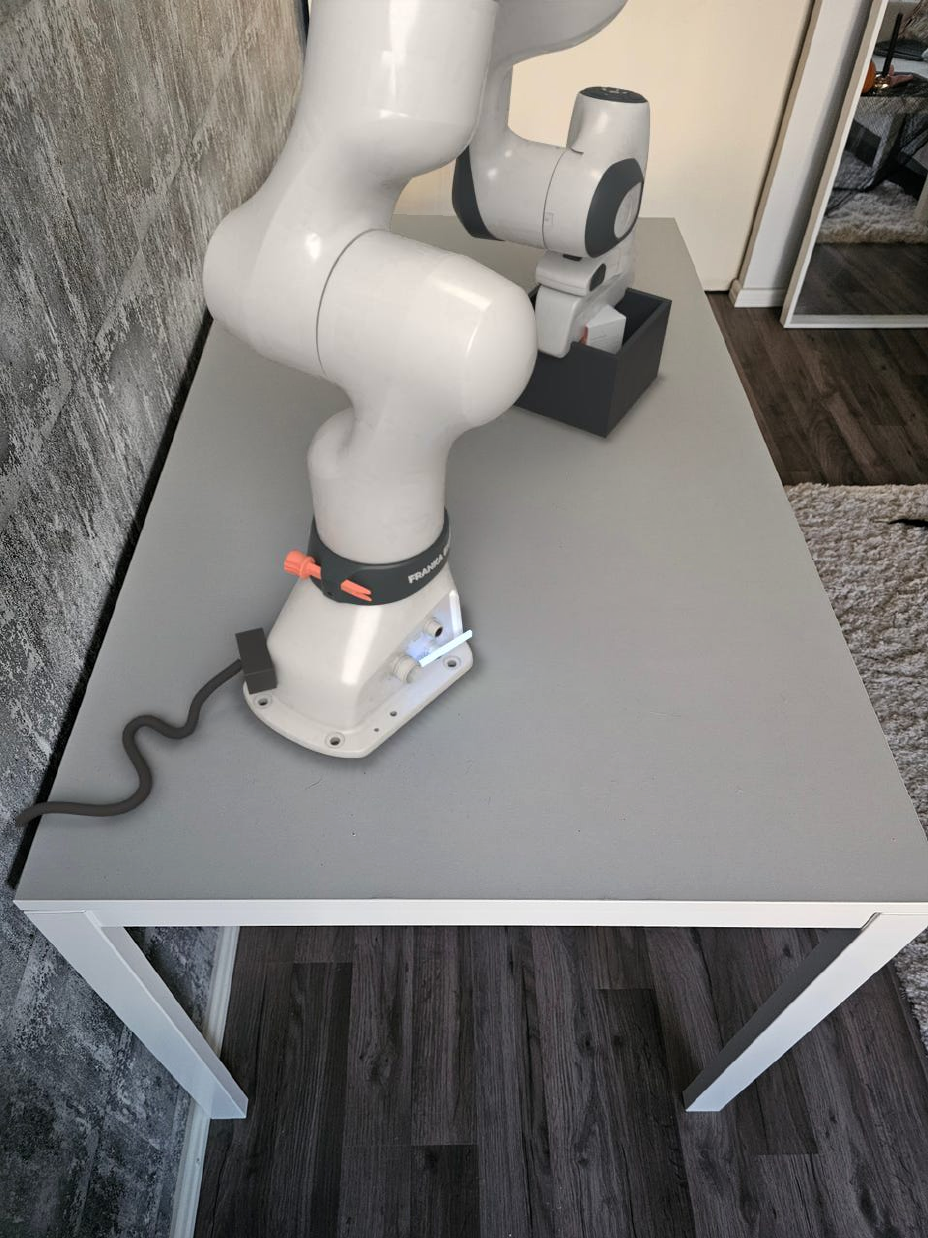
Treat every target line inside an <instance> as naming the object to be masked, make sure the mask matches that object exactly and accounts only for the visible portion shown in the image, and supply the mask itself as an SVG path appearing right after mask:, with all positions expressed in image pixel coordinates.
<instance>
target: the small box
mask: <svg viewBox="0 0 928 1238" xmlns="http://www.w3.org/2000/svg"><path fill="white" fill-rule="evenodd" d="M625 322H626V317H625V316H624V315H622V314H620V313H619V312H618V311H616V310H615V309H614V308H613V307H611V306H610V305H609V304H608V305H606V306H605V307H604V308H603V309H602V310H601V311H600V312H599V313H598V314H597V315H596V316H595V317H594V318H593V319H592V320H591V321H590V322H589V323H588V324H587V325H586V327H585V334H584V337H583V338H582V339H581V340H580V341H579V343H582V344H585V345H588V346H591V347H594V348H597V349H600V350H603V351H606V352H609V353H612V354H616V353H617V352H618V351H619V350H620V348H621V346H622V339H623V334H624V328H625Z"/></svg>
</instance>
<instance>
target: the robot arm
mask: <svg viewBox="0 0 928 1238" xmlns="http://www.w3.org/2000/svg"><path fill="white" fill-rule="evenodd" d="M628 1H629V0H311V2H310V10H309V11H310V13H309V23H308V32H307V40H306V48H305V55H304V64H303V72H302V79H301V84H300V91H299V97H298V102H297V107H296V111H295V115H294V118H293V122H292V124H291V128H290V130H289V134H288V136H287V139H286V142H285V144H284V146H283V148H282V151H281V153H280V155H279V156H278V159H277V161H276V163H275V165H274V166H273V168H272V170H271V172H270V173H269V175H268V177H267V178H266V180H264V182H263V184H262V185H261V186H260V188H258V190H256V192H255V193H254V194H253V195H252V196H251V197H250V198H248V200H246V201H245V202H243V203H242V204H240V205H239V206H237V207H235V208H233V210H231V211H230V212H228V213H227V214H226V215H225V216H224V217H223V219H222V220H221V221H220V222H219V223H218V225H217V226H216V227H215V229H214V231H213V232H212V234H211V237H210V238H209V241H208V242H207V245H206V249H205V252H204V256H203V261H202V267H201V268H202V269H201V279H202V280H201V283H202V290H203V291H202V292H203V296H204V301H205V304H206V307H207V309H208V312H209V313H210V315H211V317H212V319H213V320H214V321H215V323H216V324H217V325H218V326H219V327H220V328H222V329H223V330H224V331H225V332H226V333H228V334H230V335H231V336H232V337H234V338H235V339H237V340H238V341H239V342H241V343H242V344H243V345H245V346H246V347H248V348H250V349H251V350H253V351H254V352H256V353H257V354H258V355H260V356H262V357H263V358H265V359H267V360H269V361H271V362H275V363H277V364H280V365H282V366H284V367H288V368H289V369H292V370H295V371H298V372H300V373H303V374H305V375H308V376H311V377H313V378H316V379H318V380H322V381H323V382H327V383H329V384H332V385H334V387H337V388H339V389H341V390H342V391H344V393H345V394H346V395H347V397H348V398H349V400H350V402H351V406H348V407H346V408H344V409H342V410H340V411H338V412H336V413H334V414H333V415H331V416H330V417H329V418H327V419H326V420H325V421H324V422H323V423H322V424H321V426H319V428H318V429H317V431H316V433H315V434H314V436H313V438H312V440H311V442H310V444H309V448H308V451H307V455H306V466H307V473H308V480H309V487H310V493H311V494H310V495H311V500H312V501H311V502H312V507H313V516H312V520H311V525H310V528H309V532H308V543H307V550H306V554H304V553H303V552H302V551H300V550H297V549H293V550H291V551H290V552H289V553H288V554H287V555H286V557H285V560H284V562H283V565H284V566H283V569H284V571H285V572H286V573H289V574H292V575H295V576H298V579H297V581H296V582H295V584H294V586H293V589H292V590H291V592H290V594H289V596H288V597H287V600H286V601H285V603H284V605H283V607H282V609H281V611H280V613H279V614H278V617H277V619H276V620H275V622H274V624H273V626H272V627H271V630H270V632H269V634H268V636H267V639H266V636H265V633H264V628H263V627H257V628H254V629H249V630H245V631H240V632H236V633H235V634H234V636H235V640H236V645H237V649H238V650H237V651H238V653H239V657H240V659H239V658H237V659H236V660H234V661H233V662H231V664H230V665H228V666H227V667H225V668H224V669H223V670H221V671H220V672H218V673H217V674H216V675H214V676H213V677H212V678H211V679H209V680H208V681H207V682H206V683H205V684H204V685H203V686H202V687H201V688H200V689H199V690H198V691H197V692H196V694H195V695H194V697H193V698H192V701H191V702H190V706H189V709H188V713H187V717H186V721H185V723H184V725H183V726H181V727H178V728H177V727H173V726H171V725H169V724H167V723H166V722H164V721H163V720H161V719H159V718H157V717H155V716H153V715H149V714H143V715H138V716H135V717H134V718H132V719H131V720H130V721H129V722H128V723H126V724H125V726H124V728H123V730H122V732H121V734H122V735H121V742H122V747H123V749H124V751H125V753H126V755H127V757H128V758H129V760H130V763H132V765H133V767H134V769H135V770H136V772H137V775H138V778H139V785H138V788H137V790H136V791H135V792H134V793H133V794H131V795H130V796H129V797H128V798H126V799H124V800H122V801H120V802H116V803H109V804H95V803H94V804H93V803H83V802H75V801H62V800H60V801H59V800H52V801H44V802H39V803H36V804H33V805H31V806H29V807H28V808H26V809H24V810H23V811H22V812H21V813H19V815H18V816H17V818H16V820H15V822H14V823H13V825H14V827H15V828H23V827H25V826H26V825H28V824H30V822H31V821H32V820H33V819H35V818H37V817H39V816H42V815H48V814H64V815H74V816H83V817H93V818H95V817H99V818H100V817H101V818H102V817H103V818H105V817H114V816H119V815H123V814H125V813H128V812H130V811H132V810H135V809H136V808H137V807H138V806H139V805H141V804H142V803H143V802H144V801H145V800H146V798H147V797H148V796H149V794H150V792H151V788H152V786H153V785H152V784H153V782H152V774H151V770H150V768H149V766H148V764H147V761H146V760H145V758H144V757H143V755H142V753H141V752H140V750H139V748H138V747H137V744H136V742H135V738H134V735H135V732H137V731H138V729H140V728H141V727H148V728H150V729H152V730H154V731H155V732H157V733H159V734H161V735H162V736H164V737H165V738H168V739H172V740H182V739H185V738H187V737H190V735H191V734H193V732H194V731H195V730H196V728H197V725H198V723H199V718H200V714H201V710H202V708H203V706H204V704H205V702H206V701H207V699H208V698H209V697H210V696H211V695H212V694H213V693H214V692H215V691H216V690H217V689H218V688H220V687H221V686H222V685H223V684H225V683H226V682H227V681H229V680H230V679H232V678H233V677H235V676H236V675H237V674H238V673H240V672H241V671H242V672H243V676H244V679H245V681H244V683H243V685H242V691H243V696H244V699H245V701H246V703H247V705H248V707H249V708H250V710H251V712H252V713H254V715H255V716H256V717H257V718H258V719H259V720H260V721H261V722H263V724H265V725H266V726H268V727H269V728H270V729H272V730H273V731H275V732H276V733H278V734H280V735H281V736H282V737H284V738H286V739H287V740H289V741H291V742H293V743H295V744H297V745H299V746H301V747H303V748H306V749H308V750H310V751H313V752H316V753H320V754H322V755H326V756H330V757H335V758H343V759H362V758H365V757H367V756H368V755H370V754H371V753H372V752H373V751H375V750H376V749H377V748H378V747H380V746H381V745H382V744H383V743H384V742H386V741H387V740H388V739H389V738H390V737H392V736H393V735H394V734H395V733H396V732H397V731H398V730H400V729H401V728H402V727H403V726H405V724H407V723H408V722H410V720H411V719H413V718H414V717H415V716H416V715H418V714H419V713H420V712H421V711H423V710H424V709H425V708H426V707H427V706H428V705H429V704H430V703H431V702H433V701H434V700H435V699H437V698H438V697H439V696H440V695H441V694H442V693H444V691H445V692H446V690H447V689H448V688H450V686H452V685H453V684H454V683H456V681H458V680H459V679H460V678H461V677H462V676H464V675H465V674H466V673H467V672H469V670H470V669H471V668H472V667H473V665H474V657H473V652H472V649H471V647H470V645H469V643H468V642H467V640H468V639H470V638H472V636H473V631H472V630H471V629H470V630H467V631H466V632H464V629H463V628H464V627H463V619H462V609H461V603H460V597H459V592H458V589H457V586H456V583H455V580H454V577H453V574H452V571H451V568H450V565H449V562H448V559H449V555H450V550H451V539H452V532H451V531H452V530H451V526H450V517H449V512H448V510H447V507H446V505H445V496H446V495H445V492H446V476H447V464H448V457H449V454H450V450H451V448H452V447H453V444H454V443H455V441H457V439H458V438H459V437H460V436H462V435H463V434H464V433H465V432H468V431H470V430H472V429H475V428H479V427H482V426H485V425H487V424H489V423H491V422H493V421H495V420H496V419H497V418H499V417H500V416H502V415H503V414H504V413H506V412H507V411H508V410H509V409H510V408H511V407H512V406H514V405H513V404H514V403H515V402H516V400H517V399H518V398H519V396H520V395H521V394H522V392H523V391H524V389H525V387H526V386H527V384H528V382H529V379H530V377H531V375H532V372H533V369H534V366H535V362H536V358H537V352H538V350H539V351H540V352H542V353H545V354H548V355H551V356H554V357H558V358H562V357H564V356H565V355H566V354H567V353H568V352H569V350H570V344H571V343H572V342H573V341H576V342H579V341H580V340H581V339H582V338H583V337H584V334H585V327H586V325H587V324H588V323H589V322H590V321H591V320H592V319H593V318H594V317H595V316H596V315H597V314H598V313H599V312H600V311H601V310H602V309H603V308H604V307H605V306H606V305H608V304H609V305H610V306H611V307H613V308H614V307H615V305H616V304H617V303H618V302H619V301H620V300H621V299H622V298H623V297H624V295H625V290H626V289H627V288H628V287H629V288H633V285H634V282H635V278H636V271H637V264H638V263H637V261H638V253H639V246H638V245H639V242H638V239H637V232H638V227H639V216H640V210H641V206H642V200H643V195H644V189H645V188H644V187H645V182H646V181H645V180H646V176H647V169H648V161H649V152H650V140H651V139H650V137H651V106H650V102H649V100H648V99H647V98H645V96H644V95H643V94H640V93H639V92H635V91H633V90H628V89H625V88H618V87H612V86H600V85H599V86H598V85H597V86H588V87H586V88H584V89H581V90H579V91H578V92H577V94H576V97H575V100H574V104H573V107H572V111H571V115H570V121H569V126H568V131H567V137H566V141H565V142H566V143H565V147H564V146H560V145H555V144H550V143H544V142H540V141H535V140H529V139H527V138H524V137H522V136H520V135H519V134H517V133H516V132H514V130H512V129H511V127H510V126H509V118H510V117H509V116H510V107H511V96H512V85H513V84H512V83H513V76H514V75H513V73H514V66H515V65H517V64H519V63H522V62H524V61H528V60H530V59H533V58H536V57H542V56H544V55H549V54H555V53H560V52H564V51H567V50H570V49H573V48H575V47H578V46H579V45H581V44H583V43H585V42H588V40H590V39H592V38H594V37H595V36H597V35H598V34H600V32H602V31H603V30H604V29H606V28H607V27H608V26H609V25H610V24H611V23H612V22H613V21H614V20H615V19H616V18H617V17H618V16H619V15H620V13H621V12H622V11H623V9H624V8H625V7H626V5H627V3H628ZM454 161H455V163H454V169H453V170H454V171H453V175H452V176H453V177H452V183H451V184H452V185H451V205H452V207H453V211H454V213H455V215H456V217H457V219H458V221H459V222H460V223H461V225H462V227H463V229H465V231H466V232H467V234H469V236H471V237H472V238H474V239H480V240H488V241H496V242H509V243H512V244H518V245H521V246H527V247H530V248H535V249H539V250H543V251H545V252H544V254H543V255H542V257H541V258H540V259H539V261H538V263H537V264H536V267H535V273H534V281H535V283H538V284H541V286H540V288H539V290H538V293H537V298H536V305H535V313H534V310H533V307H532V304H531V302H530V299H529V297H528V295H527V294H528V293H527V291H526V290H525V289H524V288H522V287H521V286H519V285H517V284H516V283H514V281H511V280H509V279H507V278H506V277H505V276H503V275H501V274H500V273H498V272H496V271H495V270H493V269H491V268H489V267H488V266H486V265H484V264H482V263H480V262H479V261H478V260H475V259H473V258H471V257H470V256H468V255H465V254H461V253H459V252H455V251H451V250H448V249H445V248H442V247H438V246H435V245H433V244H429V243H426V242H422V241H419V240H415V239H412V238H409V237H406V236H403V235H399V234H396V233H392V232H391V225H392V219H393V216H394V212H395V209H396V206H397V204H398V201H399V198H400V197H401V194H402V193H403V192H404V190H405V188H406V187H407V185H408V184H409V183H410V181H411V180H412V179H414V178H417V177H418V178H419V177H420V176H421V177H422V176H424V175H427V174H430V173H432V172H435V171H437V170H439V169H442V168H444V167H445V166H447V165H449V164H450V163H452V162H454ZM262 704H264V705H262ZM333 743H338V744H333Z"/></svg>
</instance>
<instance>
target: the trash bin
mask: <svg viewBox="0 0 928 1238" xmlns="http://www.w3.org/2000/svg"><path fill="white" fill-rule="evenodd" d="M540 286H541V284H540V283H538V284H537V285H536V286H535V287H534V288H533V289H531V291H529V292H528V293H527V295H528V297H529V299H530V302H531V304H532V307H533V310H534V313H535V305H536V298H537V293H538V290H539V288H540ZM672 303H673V300H672V299H670V298H667V297H663V296H660V295H657V294H652V293H649V292H646V291H642V290H639V289H637V288H633V287H632V288H629V287H628V288H627V289H626V290H625V295H624V297H623V298H622V299H621V300H620V301H619V302H618V303H617V304H616V305H615V307H614V309H615V310H616V311H618V312H619V313H620V314H622V315H624V316H625V317H626V322H625V328H624V334H623V339H622V346H621V348H620V350H619V351H618V352H617V353H616V354H612V353H609V352H606V351H603V350H600V349H597V348H594V347H591V346H588V345H585V344H582V343H579V342H576V341H573V342H572V343H571V344H570V350H569V352H568V353H567V354H566V355H565V356H564V357H562V358H558V357H554V356H551V355H548V354H545V353H542V352H540V351H539V350H538V352H537V358H536V362H535V366H534V369H533V372H532V375H531V377H530V379H529V382H528V384H527V386H526V387H525V389H524V391H523V392H522V394H521V395H520V396H519V398H518V399H517V400H516V402H515V403H514V404H513V405H512V406H516V407H519V408H522V409H525V410H527V411H530V412H532V413H535V414H538V415H541V416H544V417H546V418H549V419H552V420H555V421H558V422H560V423H563V424H566V425H569V426H571V427H575V428H577V429H580V430H583V431H585V432H588V433H591V434H593V435H597V436H599V437H601V438H604V439H606V438H607V437H608V436H609V435H610V434H611V432H612V431H613V430H614V429H615V428H616V426H618V425H619V423H620V422H621V420H622V419H623V418H624V417H625V416H626V415H627V414H628V412H629V411H630V410H631V409H632V408H633V406H634V405H635V404H636V403H637V402H638V400H639V399H640V398H641V397H642V395H643V394H644V393H645V392H646V391H647V390H648V388H649V387H650V386H651V385H652V383H654V381H655V380H656V379H657V378H658V375H659V374H658V373H659V369H660V364H661V359H662V354H663V350H664V345H665V339H666V335H667V330H668V329H667V328H668V324H669V320H670V314H671V309H672Z"/></svg>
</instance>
